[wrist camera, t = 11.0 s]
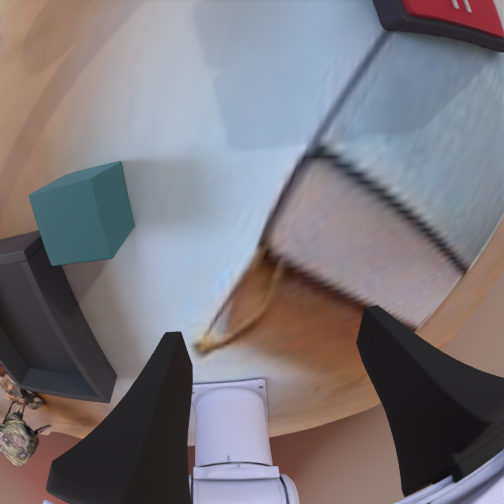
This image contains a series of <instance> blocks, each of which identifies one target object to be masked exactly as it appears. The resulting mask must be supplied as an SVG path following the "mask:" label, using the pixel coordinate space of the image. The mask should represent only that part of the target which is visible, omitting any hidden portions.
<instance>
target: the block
mask: <svg viewBox="0 0 504 504" xmlns="http://www.w3.org/2000/svg"><path fill="white" fill-rule="evenodd" d="M29 198H30V202H31V205H32V209H33V212H34V216H35V219H36V222H37V226H38V229H39V232H40V235H41V238H42V241H43V244H44V246H45V249H46V252H47V255H48V257H49V260H50V262H51V265H52V266H57V265H65V264H73V263H81V262H89V261H97V260H105V259H112V258H113V257H114V256H115V254H116V253H117V251H118V250H119V248H120V247H121V245H122V244H123V242H124V241H125V239H126V238H127V237H128V235H129V234H130V232H131V231H132V229H133V228H134V227H135V225H134V221H133V217H132V212H131V208H130V203H129V199H128V194H127V189H126V184H125V179H124V174H123V169H122V163H121V161H119V162H114V163H110V164H106V165H102V166H98V167H94V168H90V169H86V170H82V171H78V172H75V173H71V174H68V175H65V176H63V177H61V178H59V179H57V180H55V181H53V182H51V183H50V184H48V185H46V186H44V187H42V188H41V189H39V190H37V191H35V192H33V193H32V194H30V195H29Z"/></svg>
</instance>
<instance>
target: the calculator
mask: <svg viewBox="0 0 504 504" xmlns="http://www.w3.org/2000/svg"><path fill="white" fill-rule="evenodd" d="M373 2H374V5H375V8H376V11H377V14H378V16H379V20H380V23H381V25H382V27H383V28H385V29H386V30H394V31H406V32H415V33H423V34H430V35H437V36H443V37H448V38H453V39H458V40H463V41H467V42H471V43H475V44H479V45H480V46H481V47H485V48H488V49H492V50H495V51H498V52H504V0H373Z"/></svg>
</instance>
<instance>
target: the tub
mask: <svg viewBox="0 0 504 504" xmlns="http://www.w3.org/2000/svg"><path fill="white" fill-rule="evenodd" d="M0 364H1V365H2V366H3V368H4V369H5V370H6V371H7V373H8V374H9V375H10V377H11V378H12V379H13V380H14V381H15V383H16V384H17V385H18V386H19V388H20V389H25V390H29V391H33V392H38V393H43V394H48V395H53V396H59V397H65V398H71V399H78V400H85V401H93V402H102V403H110V400H111V397H112V393H113V389H114V386H115V382H116V378H117V375H116V374H115V372H114V370H113V369H112V367H111V365H110V364H109V362H108V360H107V359H106V357H105V355H104V354H103V352H102V350H101V348H100V347H99V345H98V343H97V341H96V339H95V338H94V336H93V334H92V332H91V330H90V328H89V326H88V324H87V322H86V320H85V318H84V316H83V314H82V312H81V310H80V308H79V306H78V304H77V302H76V299H75V297H74V295H73V293H72V291H71V288H70V286H69V284H68V281H67V279H66V276H65V274H64V271H63V269H62V266H61V265H57V266H52V265H51V262H50V260H49V257H48V255H47V252H46V249H45V246H44V244H43V241H42V238H41V235H40V232H39V231H36V232H31V233H27V234H23V235H19V236H14V237H10V238H6V239H2V240H0Z"/></svg>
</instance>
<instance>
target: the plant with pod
mask: <svg viewBox="0 0 504 504" xmlns="http://www.w3.org/2000/svg"><path fill="white" fill-rule="evenodd" d="M4 375H5V376H4ZM4 375H3V374H2V376H0V383H1V384H2V386H3V387H4V389H5V391H6V395H5V396H6V397H7V398H8V399H9V400H10V401H12V404H13V403H15V404H16V405H18V407H17V409H16V411H15V412H14V413H13V414H11V415H9V416H8V417H7V415H8V414H9V413H10V410H11V406H12V404H11V406H10V408H9V410H8V413H7V414H6V416H5V419H4V421H3V423H2V424H0V451H1V452H2V454H4V455H5V456H6V457H7V458H8V459H9V460H10V461H11V462H12V463H13V464H15V465H16V466H20V467H21V466H23V465H24V464H25V463H27V462H28V461H29V459H30V458H31V456H32V455H33V453H34V452H35V451H36V449H37V448H38V445H39V439H38V437H37V434H39V433H41V432H42V431H44V430H45V429H48V428H50V427H51V425H46V426H44V427H41V428H39V429H37V430H35V431H33V430H32V429H31V428H30V427H29V426H28V425H27V424H26V423H25V421H23V420H22V418H23V412H24V408H25V406H26V405H27V406H28V408H29V407H30V408H33V409H37V408H39V407H40V406H44V405H45V403H44V402H43V401H42V400H41V399H39V397H37V396H36V395H34V394H33V393H31V392H30V391H29V390H25V389H20V388H19V386H18V385H17V384H16V383H15V382H14V381H13V380H12V379H11V378H10V377H9V375H8V374H5V373H4Z"/></svg>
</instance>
